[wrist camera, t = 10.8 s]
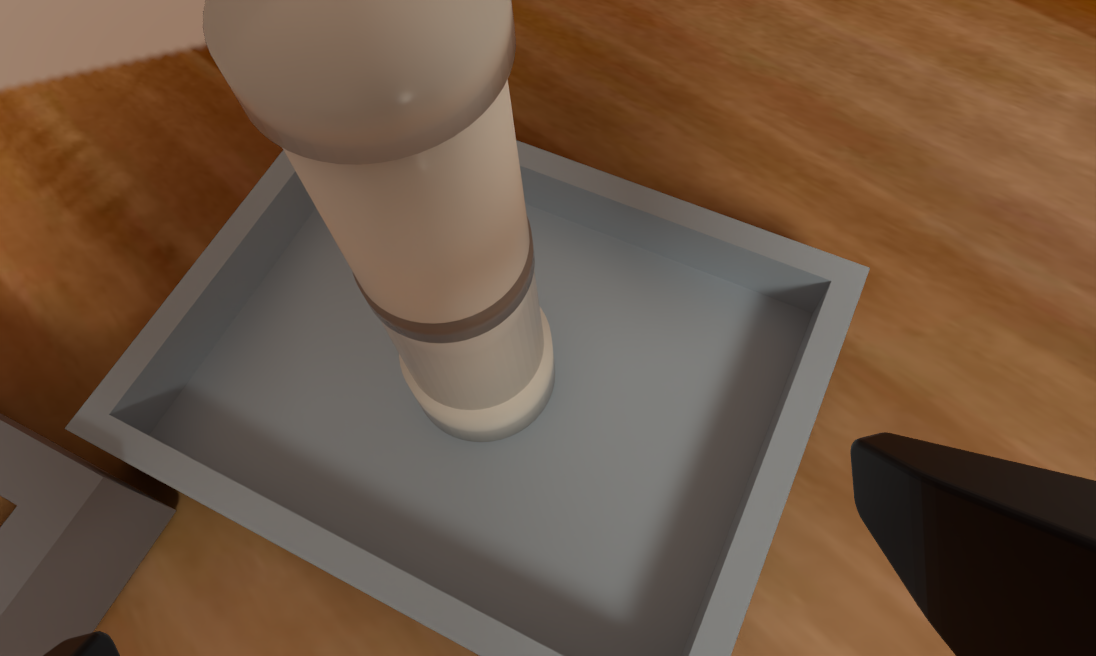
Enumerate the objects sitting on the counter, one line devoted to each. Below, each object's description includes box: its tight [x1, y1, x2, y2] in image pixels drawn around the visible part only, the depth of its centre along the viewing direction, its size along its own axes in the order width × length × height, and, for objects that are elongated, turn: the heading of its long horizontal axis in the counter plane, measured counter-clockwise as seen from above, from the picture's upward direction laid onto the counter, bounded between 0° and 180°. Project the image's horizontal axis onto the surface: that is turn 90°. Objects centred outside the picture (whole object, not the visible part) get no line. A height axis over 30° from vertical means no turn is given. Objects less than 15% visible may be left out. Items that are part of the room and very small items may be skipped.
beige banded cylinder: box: [203, 0, 555, 442], centre depth 16 cm, size 4×4×13 cm
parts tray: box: [65, 140, 870, 656], centre depth 21 cm, size 17×13×2 cm
